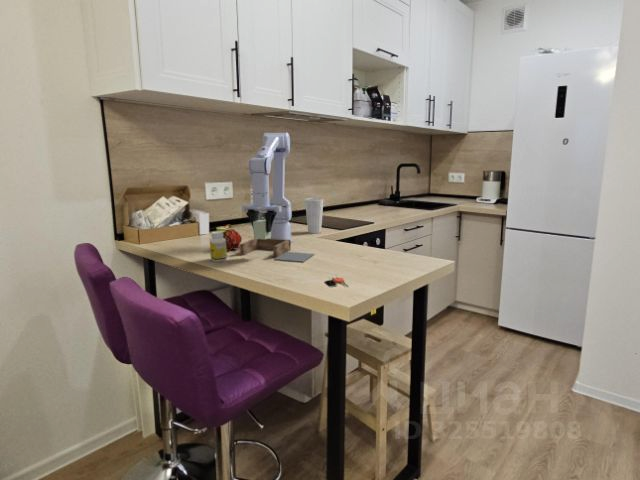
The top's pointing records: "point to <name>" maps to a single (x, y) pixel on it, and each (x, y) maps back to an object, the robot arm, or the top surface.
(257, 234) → the block
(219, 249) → the supplement bottle
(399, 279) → the top surface
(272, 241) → the wooden u-shaped shelf
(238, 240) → the dragon fruit
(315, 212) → the cup
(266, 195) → the robot arm
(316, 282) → the top surface
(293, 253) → the mat
